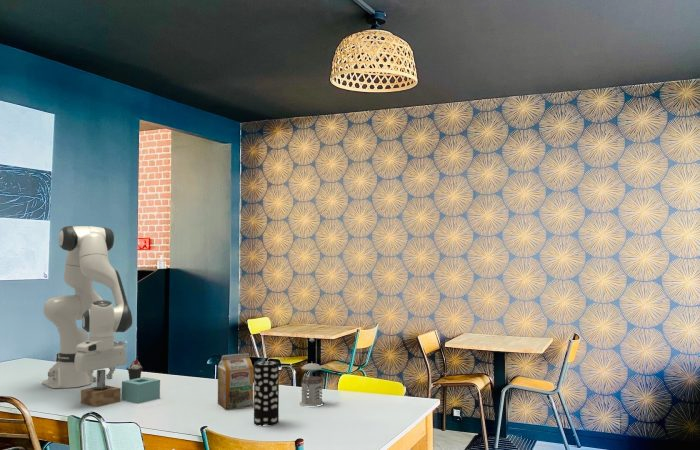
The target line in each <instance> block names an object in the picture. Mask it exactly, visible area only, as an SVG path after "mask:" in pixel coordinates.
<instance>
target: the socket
mask: <svg viewBox="0 0 700 450" xmlns="http://www.w3.org/2000/svg"><path fill="white" fill-rule="evenodd" d="M121 391H122V387H116V386H112V385H107V384H105V390H101V391H97V386H93V387H87V388H83V389H81V390H80V404H82V405H86V406H91V407H94V408H98V407H102V406H107V405H112V404H115V403H117V404H118V403H120V402H121Z"/></svg>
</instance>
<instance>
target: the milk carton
mask: <svg viewBox="0 0 700 450" xmlns="http://www.w3.org/2000/svg"><path fill="white" fill-rule="evenodd" d="M217 405H219V406H220V407H221V408H222V409H223V410H225V411H227V410H228V411H229V410H236V409H243V408H244V409H245V408H251V407H252V408H254V365H253V364H252V360H251V358H250V354H249V352H247V353H235V354H225V355H224V354H223V355H221V359H220V361H219V362H218V366H217Z"/></svg>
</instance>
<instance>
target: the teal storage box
mask: <svg viewBox="0 0 700 450" xmlns="http://www.w3.org/2000/svg"><path fill="white" fill-rule="evenodd" d="M160 398H161V380H160V379H157V378H153V377H152V378H151V377H145V376H142V377H140V378H137V379H132V380H129V379H127V380H123V381H121V400H122V401H125V402H129V403H133V404H141V403H145V402H146V403H147V402H150V401H154V400H157V399H160Z"/></svg>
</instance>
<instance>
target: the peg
mask: <svg viewBox="0 0 700 450" xmlns="http://www.w3.org/2000/svg"><path fill="white" fill-rule="evenodd" d="M105 385H106V369H99V370H96V387H97V391H101V390H105Z"/></svg>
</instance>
